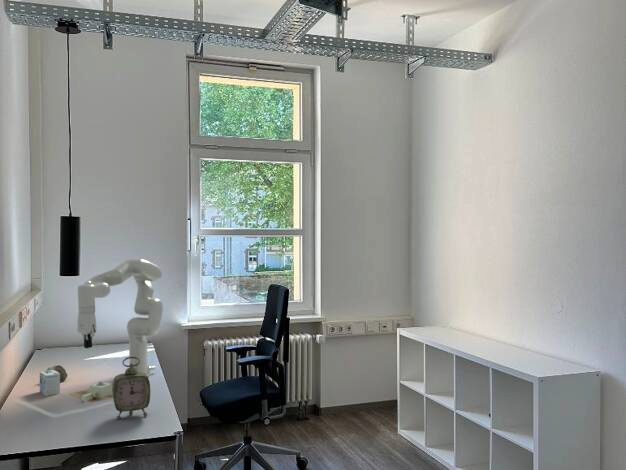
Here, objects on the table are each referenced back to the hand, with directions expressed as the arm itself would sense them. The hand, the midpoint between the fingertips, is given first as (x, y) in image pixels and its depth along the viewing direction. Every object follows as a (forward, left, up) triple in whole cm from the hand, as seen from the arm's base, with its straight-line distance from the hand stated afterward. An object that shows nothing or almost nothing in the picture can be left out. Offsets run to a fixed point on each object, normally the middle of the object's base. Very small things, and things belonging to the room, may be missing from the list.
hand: (88, 347), depth 273 cm
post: (0, +12, -21) cm, 24 cm away
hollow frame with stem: (+4, +14, -21) cm, 25 cm away
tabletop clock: (+6, +48, -22) cm, 54 cm away
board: (-2, +9, -22) cm, 24 cm away
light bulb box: (+13, -12, -22) cm, 28 cm away
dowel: (+6, +16, -21) cm, 27 cm away
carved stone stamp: (0, -35, -22) cm, 41 cm away
